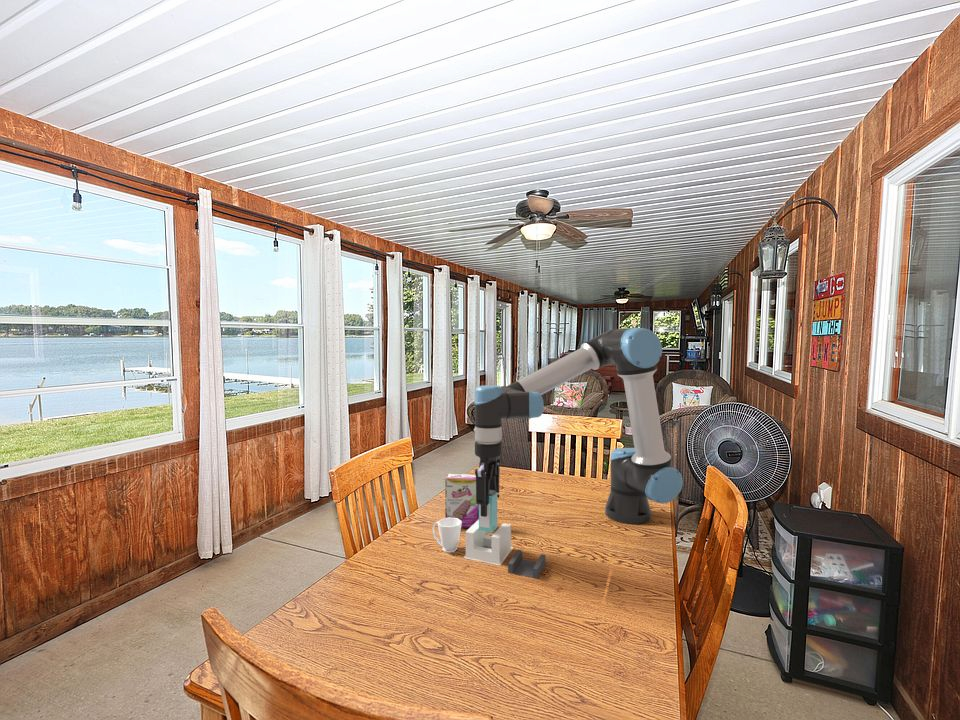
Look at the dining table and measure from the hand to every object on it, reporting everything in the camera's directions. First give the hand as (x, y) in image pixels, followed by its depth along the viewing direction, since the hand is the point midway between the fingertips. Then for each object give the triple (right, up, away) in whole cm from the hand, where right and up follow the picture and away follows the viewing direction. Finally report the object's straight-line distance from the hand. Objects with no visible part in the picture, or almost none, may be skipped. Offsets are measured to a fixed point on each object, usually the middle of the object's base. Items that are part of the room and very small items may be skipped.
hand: (488, 523), depth 123 cm
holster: (+10, -9, -8) cm, 16 cm away
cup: (-12, -9, +5) cm, 16 cm away
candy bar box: (-8, -8, +20) cm, 23 cm away
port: (0, -9, 0) cm, 9 cm away
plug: (0, -2, 0) cm, 2 cm away
